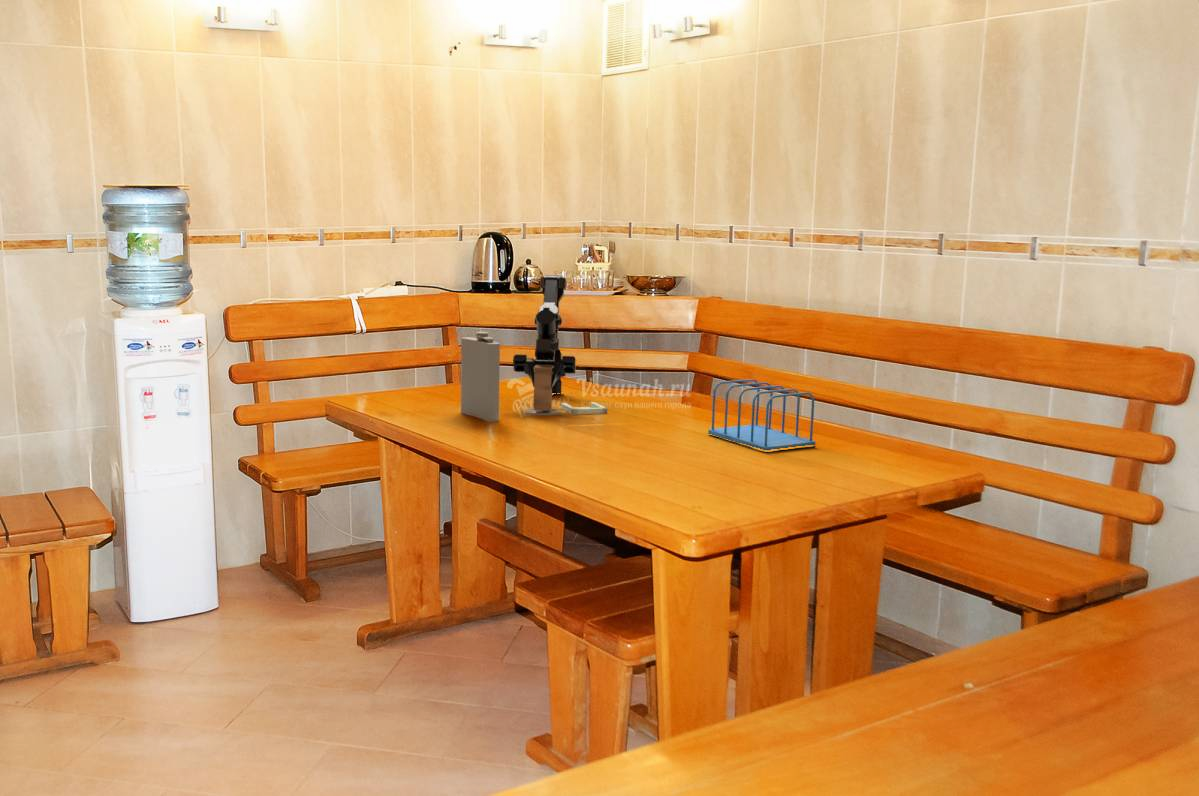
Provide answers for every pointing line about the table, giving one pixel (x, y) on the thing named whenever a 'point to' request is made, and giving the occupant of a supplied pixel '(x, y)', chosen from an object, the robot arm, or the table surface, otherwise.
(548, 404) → the oak block
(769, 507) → the table surface
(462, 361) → the flask
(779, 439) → the file sorter
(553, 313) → the robot arm
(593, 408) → the pocket
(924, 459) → the table surface
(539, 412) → the slate coaster
